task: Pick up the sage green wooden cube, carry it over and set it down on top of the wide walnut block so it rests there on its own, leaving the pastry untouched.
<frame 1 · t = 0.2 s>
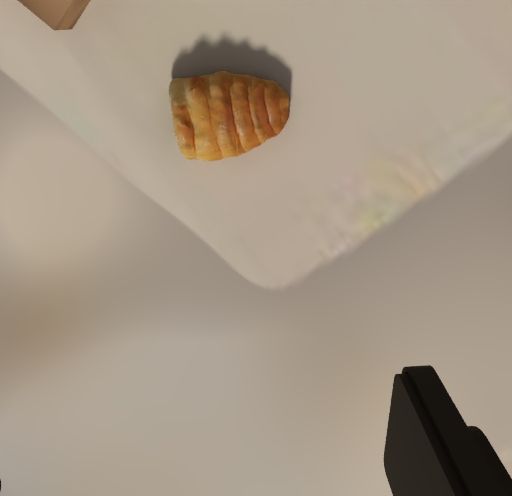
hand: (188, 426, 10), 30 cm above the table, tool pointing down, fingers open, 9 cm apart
pastry: (222, 110, 37), on the table
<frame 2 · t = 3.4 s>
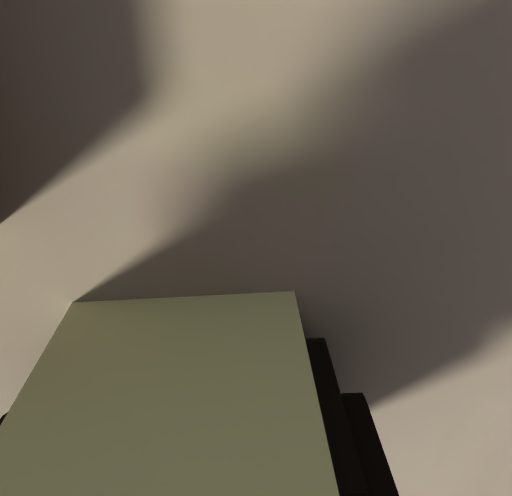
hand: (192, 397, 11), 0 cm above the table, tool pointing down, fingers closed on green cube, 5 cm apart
green cube: (194, 380, 11), on the table, touching gripper
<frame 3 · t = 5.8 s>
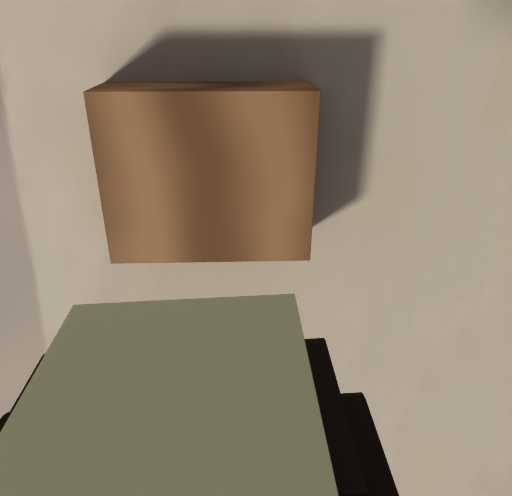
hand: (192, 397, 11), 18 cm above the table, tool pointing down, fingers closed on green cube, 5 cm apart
walnut block: (211, 162, 27), on the table
green cube: (194, 383, 11), point 17 cm above the table, touching gripper
when the fingers open (6 cm above the table, at t = 8.4 s): green cube drops 2 cm, resting on walnut block.
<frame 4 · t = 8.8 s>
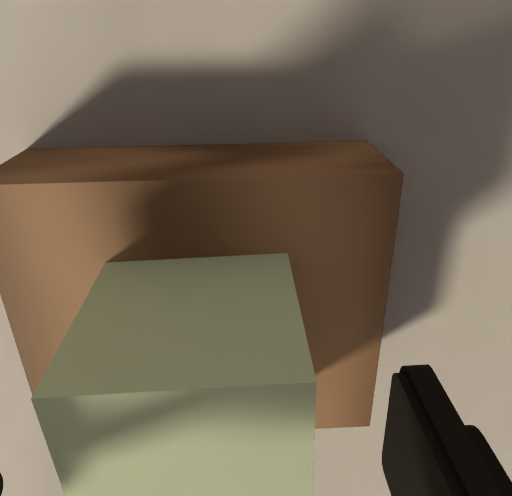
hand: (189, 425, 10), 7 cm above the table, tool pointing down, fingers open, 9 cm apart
walnut block: (207, 261, 17), on the table, touching green cube
green cube: (204, 331, 14), point 4 cm above the table, touching walnut block
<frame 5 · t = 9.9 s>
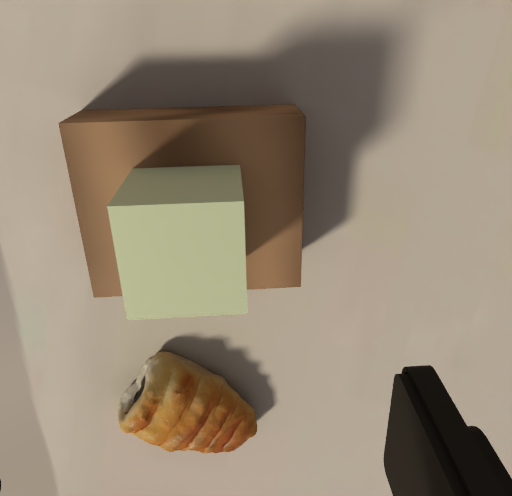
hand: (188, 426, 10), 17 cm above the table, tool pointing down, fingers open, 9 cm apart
walnut block: (195, 187, 26), on the table
pastry: (187, 389, 32), on the table
green cube: (190, 216, 22), point 4 cm above the table
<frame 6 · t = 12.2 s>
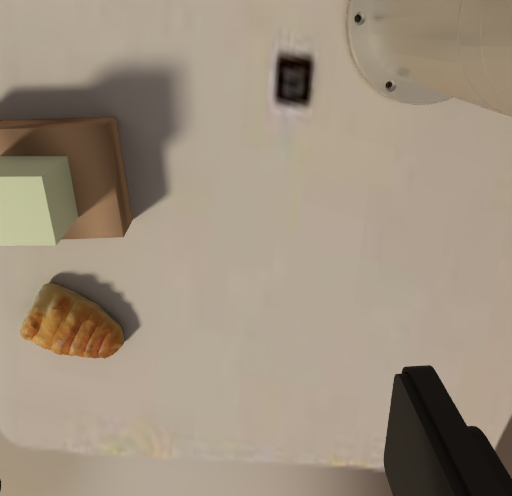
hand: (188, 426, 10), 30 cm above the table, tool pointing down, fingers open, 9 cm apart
walnut block: (61, 171, 39), on the table, touching green cube
pastry: (75, 313, 45), on the table
green cube: (40, 188, 35), point 4 cm above the table, touching walnut block
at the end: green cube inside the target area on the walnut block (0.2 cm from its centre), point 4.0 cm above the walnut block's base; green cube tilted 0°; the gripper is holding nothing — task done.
